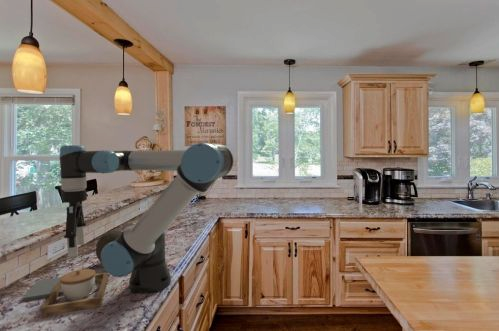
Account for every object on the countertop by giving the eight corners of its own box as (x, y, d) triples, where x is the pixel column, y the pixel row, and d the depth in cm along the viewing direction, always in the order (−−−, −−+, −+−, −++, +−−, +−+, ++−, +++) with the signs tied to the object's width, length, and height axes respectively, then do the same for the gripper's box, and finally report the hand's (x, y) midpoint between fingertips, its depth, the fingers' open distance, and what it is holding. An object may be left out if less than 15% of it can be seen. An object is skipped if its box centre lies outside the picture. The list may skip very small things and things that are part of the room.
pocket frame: (108, 279, 117) (107, 272, 117) (100, 306, 96) (100, 297, 96) (60, 286, 111) (60, 279, 111) (41, 317, 90) (41, 308, 90)
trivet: (81, 276, 120) (81, 274, 120) (73, 293, 106) (73, 289, 106) (37, 283, 115) (37, 280, 115) (23, 301, 101) (23, 297, 101)
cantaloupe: (122, 269, 127) (120, 235, 126) (90, 270, 127) (88, 236, 126) (135, 258, 141) (134, 227, 140) (106, 258, 141) (105, 227, 140)
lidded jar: (101, 288, 109) (100, 264, 109) (86, 303, 98) (85, 276, 98) (72, 289, 109) (71, 265, 108) (54, 304, 98) (52, 277, 98)
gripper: (69, 186, 111) (71, 241, 112) (52, 195, 88) (55, 264, 89) (91, 185, 114) (93, 239, 115) (80, 193, 91) (83, 260, 92)
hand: (76, 250), depth 102 cm, fingers open, 13 cm apart
